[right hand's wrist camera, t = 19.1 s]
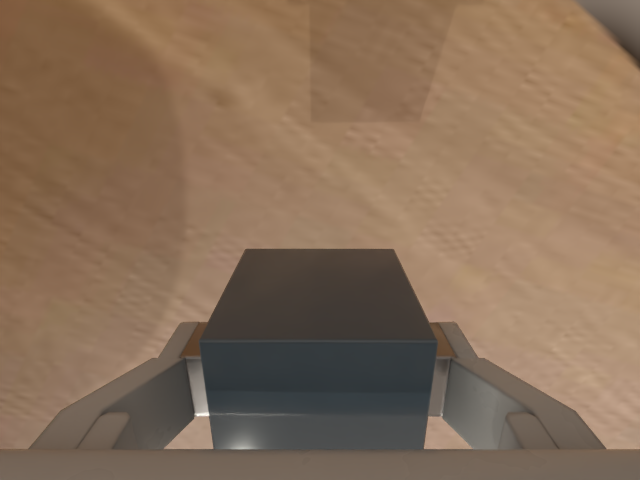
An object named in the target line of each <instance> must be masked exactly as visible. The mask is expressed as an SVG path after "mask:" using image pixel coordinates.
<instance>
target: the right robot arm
mask: <svg viewBox="0 0 640 480" xmlns="http://www.w3.org/2000/svg"><path fill="white" fill-rule="evenodd" d="M207 323H208V322H182V323H180V324H179V326H178V327H177V329H176V330H175V332H174V333H173V335H172V337H171V338H170V340H169V341H168V343H167V344H166V346H165V348H164V349H163V351H162V352H161V354H160V355H159V357H158V358H152V359H150V360H148V361H146V362H145V363H143V364H141V365H139V366H138V367H136V368H134V369H132V370H131V371H129V372H127V373H125V374H124V375H122V376H120V377H119V378H117V379H115V380H113V381H112V382H110V383H108V384H106V385H105V386H103V387H101V388H99V389H98V390H96V391H94V392H92V393H91V394H89V395H87V396H85V397H84V398H82V399H80V400H78V401H77V402H75V403H73V404H71V405H70V406H68V407H66V408H64V409H63V410H61V411H60V412H59V413H58V414H57V416H56V417H55V418H54V419H53V420H52V422H51V423H50V424H49V425H48V426H47V427H46V429H45V430H44V431H43V432H42V433H41V435H40V436H39V437H38V438H37V439H36V441H35V442H34V443H33V444H32V445H31V446H30V448H29V449H0V480H640V449H606V448H605V446H604V445H603V444H602V443H601V442H600V440H599V439H598V438H597V437H596V436H595V434H594V433H593V432H592V431H591V429H590V428H589V427H588V426H587V425H586V423H585V422H584V421H583V420H582V418H581V417H580V416H579V415H578V414H577V412H576V411H574V410H573V409H571V408H569V407H567V406H566V405H564V404H562V403H561V402H559V401H557V400H555V399H554V398H552V397H550V396H548V395H547V394H545V393H543V392H542V391H540V390H538V389H536V388H535V387H533V386H531V385H530V384H528V383H526V382H524V381H523V380H521V379H519V378H517V377H516V376H514V375H512V374H511V373H509V372H507V371H505V370H504V369H502V368H500V367H498V366H497V365H495V364H493V363H492V362H490V361H488V360H486V359H485V358H478V356H477V355H476V353H475V352H474V350H473V348H472V347H471V345H470V344H469V342H468V341H467V339H466V337H465V336H464V334H463V333H462V331H461V329H460V328H459V326H458V325H457V323H455V322H436V323H430V325H431V327H432V329H433V331H434V333H435V335H436V338H437V340H438V347H437V355H436V362H435V370H434V377H433V384H432V392H431V399H430V406H429V414H428V416H440V417H442V418H443V419H444V420H445V421H446V422H447V423H448V424H449V425H450V426H451V427H452V428H453V429H454V430H455V431H456V432H457V433H458V434H459V435H460V436H461V437H462V438H463V439H464V440H465V441H466V442H467V443H468V444H469V445H470V446H471V447H472V448H473V449H163V448H165V447H166V446H167V445H168V444H169V443H170V442H171V441H172V440H173V439H174V438H175V437H176V436H177V435H178V434H179V433H180V432H181V431H182V430H183V429H184V428H185V427H186V426H187V425H188V424H189V423H190V422H191V421H192V420H193V419H194V417H196V416H209V412H208V405H207V398H206V391H205V384H204V377H203V370H202V363H201V356H200V349H199V342H198V341H199V339H200V337H201V335H202V333H203V331H204V329H205V327H206V325H207Z"/></svg>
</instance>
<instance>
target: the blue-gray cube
mask: <svg viewBox="0 0 640 480" xmlns="http://www.w3.org/2000/svg"><path fill="white" fill-rule="evenodd" d="M198 342H199V349H200V356H201V363H202V370H203V377H204V384H205V391H206V398H207V405H208V412H209V419H210V426H211V433H212V440H213V447H214V449H424V443H425V436H426V428H427V421H428V414H429V406H430V399H431V392H432V384H433V377H434V370H435V362H436V355H437V347H438V340H437V338H436V335H435V333H434V331H433V329H432V327H431V325H430V323H429V321H428V319H427V317H426V315H425V313H424V311H423V309H422V307H421V304H420V302H419V300H418V298H417V296H416V294H415V292H414V290H413V288H412V286H411V284H410V282H409V280H408V278H407V276H406V273H405V271H404V269H403V267H402V265H401V263H400V261H399V259H398V257H397V255H396V253H395V251H394V249H245V251H244V253H243V255H242V257H241V259H240V261H239V263H238V265H237V267H236V268H235V270H234V272H233V274H232V276H231V278H230V280H229V282H228V284H227V286H226V288H225V290H224V292H223V294H222V296H221V298H220V300H219V302H218V304H217V305H216V307H215V309H214V311H213V313H212V315H211V317H210V319H209V321H208V323H207V325H206V327H205V329H204V331H203V333H202V335H201V337H200V339H199V341H198Z"/></svg>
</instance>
